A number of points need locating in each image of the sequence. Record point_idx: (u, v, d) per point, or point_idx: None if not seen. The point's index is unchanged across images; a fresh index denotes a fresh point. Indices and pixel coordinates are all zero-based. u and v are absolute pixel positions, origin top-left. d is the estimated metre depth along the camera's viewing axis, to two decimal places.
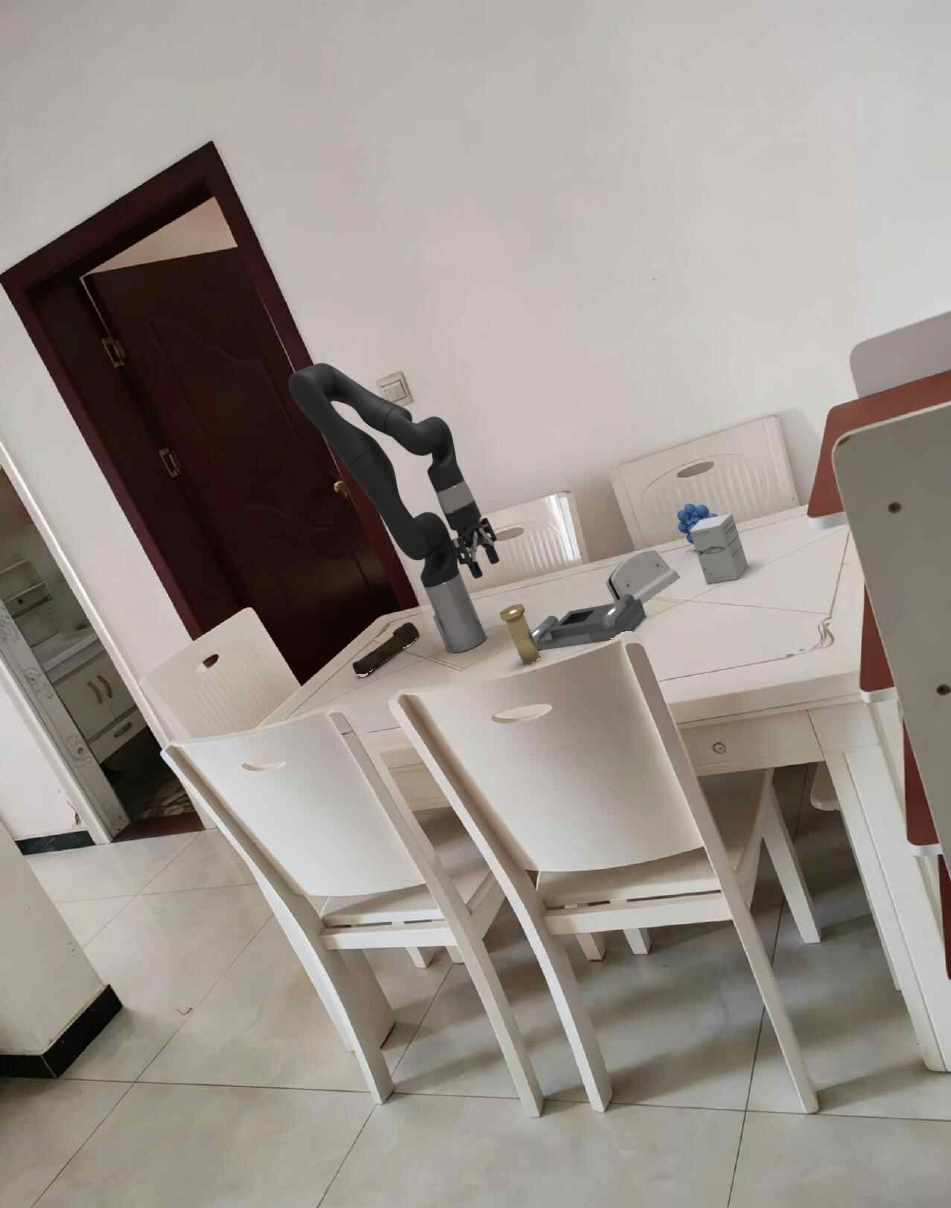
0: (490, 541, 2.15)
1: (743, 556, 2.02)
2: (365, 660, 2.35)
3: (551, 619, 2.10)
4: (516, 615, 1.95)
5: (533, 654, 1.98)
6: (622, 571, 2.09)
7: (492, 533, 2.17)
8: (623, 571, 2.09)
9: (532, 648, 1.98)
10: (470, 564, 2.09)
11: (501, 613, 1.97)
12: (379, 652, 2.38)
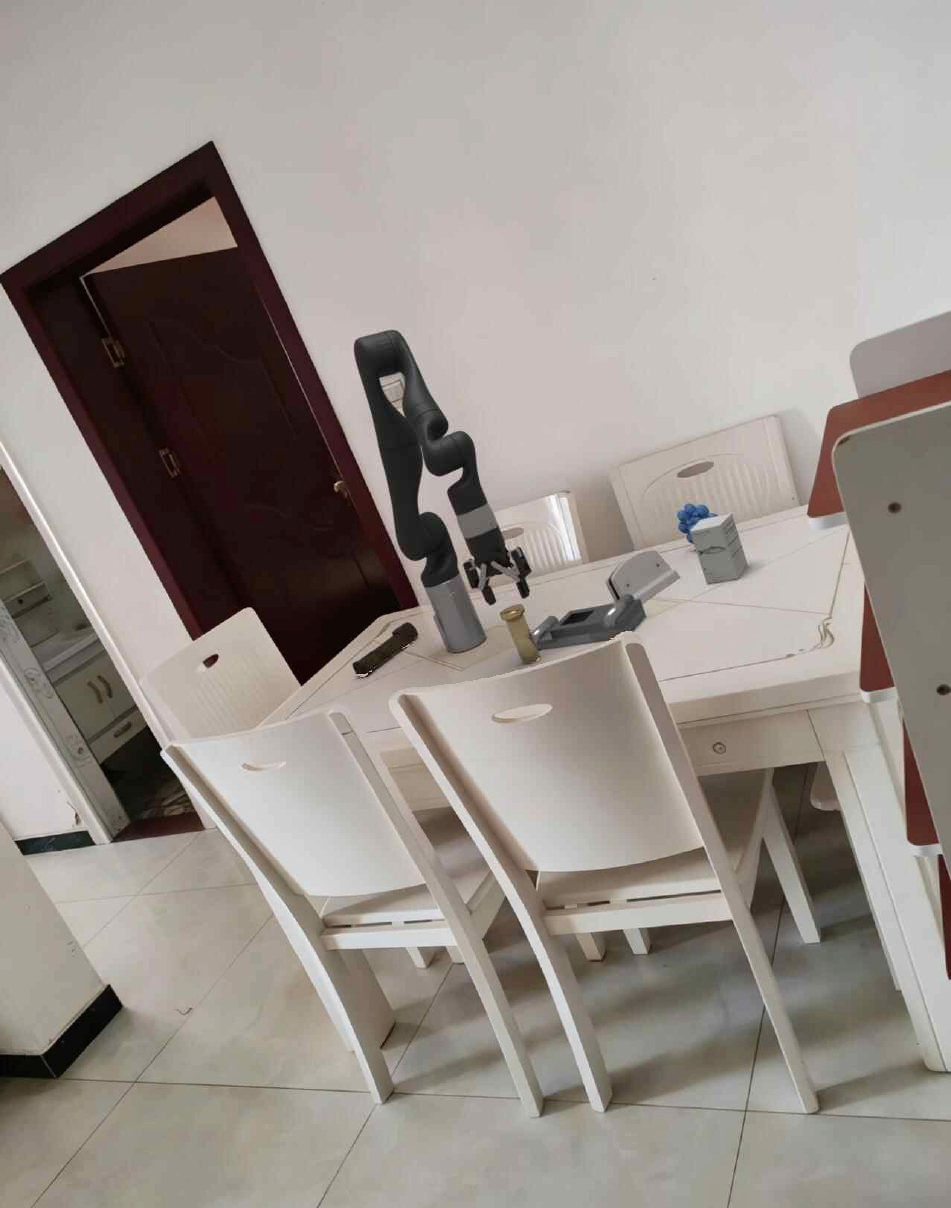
0: None
1: (743, 556, 2.02)
2: (365, 660, 2.35)
3: (551, 619, 2.10)
4: (516, 615, 1.95)
5: (533, 654, 1.98)
6: (622, 571, 2.09)
7: None
8: (623, 570, 2.09)
9: (532, 648, 1.98)
10: (524, 579, 1.92)
11: (501, 613, 1.97)
12: (379, 652, 2.38)
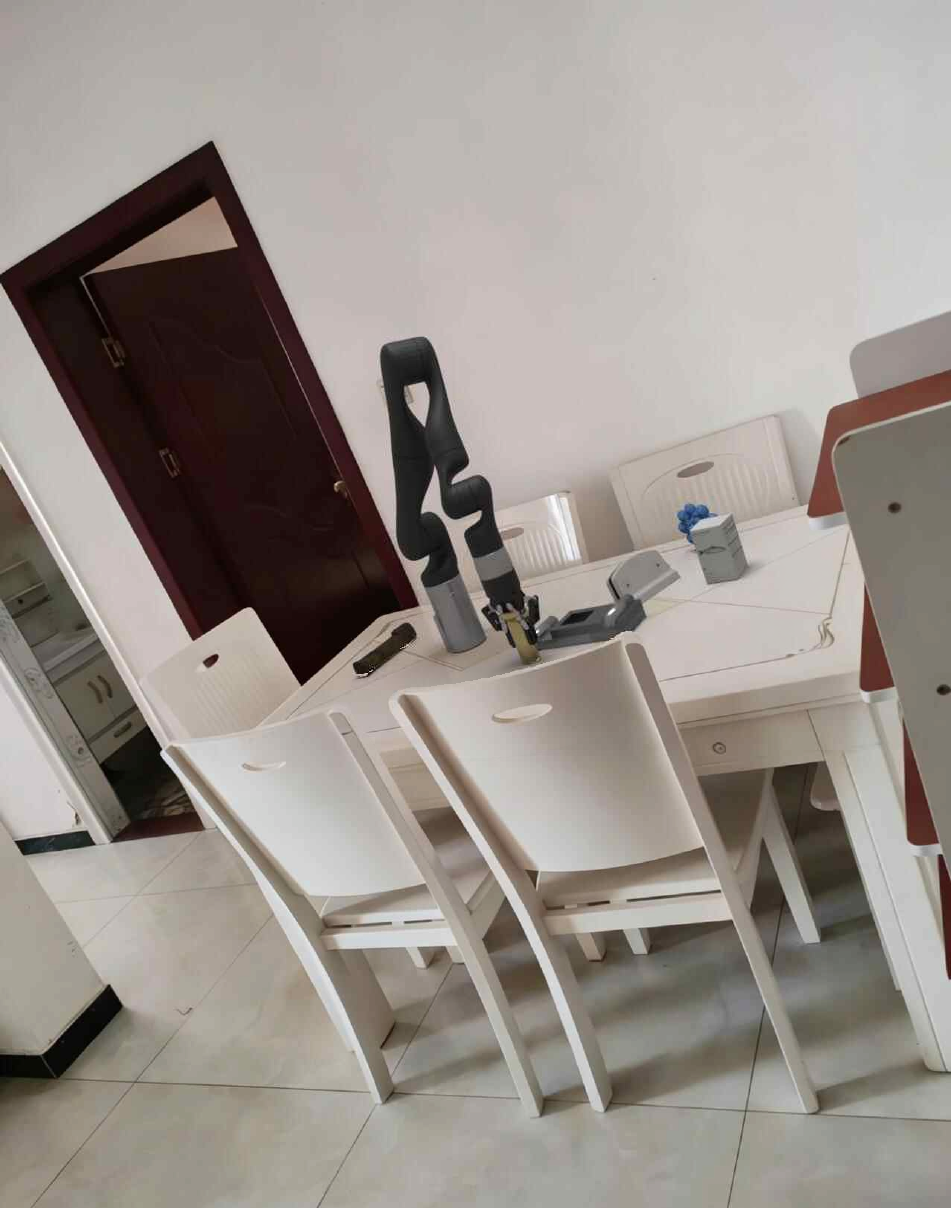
0: None
1: (743, 556, 2.02)
2: (365, 660, 2.35)
3: (551, 619, 2.10)
4: (516, 615, 1.95)
5: (533, 654, 1.98)
6: (622, 571, 2.09)
7: None
8: (624, 570, 2.09)
9: (532, 648, 1.98)
10: (532, 627, 1.96)
11: None
12: (379, 652, 2.38)
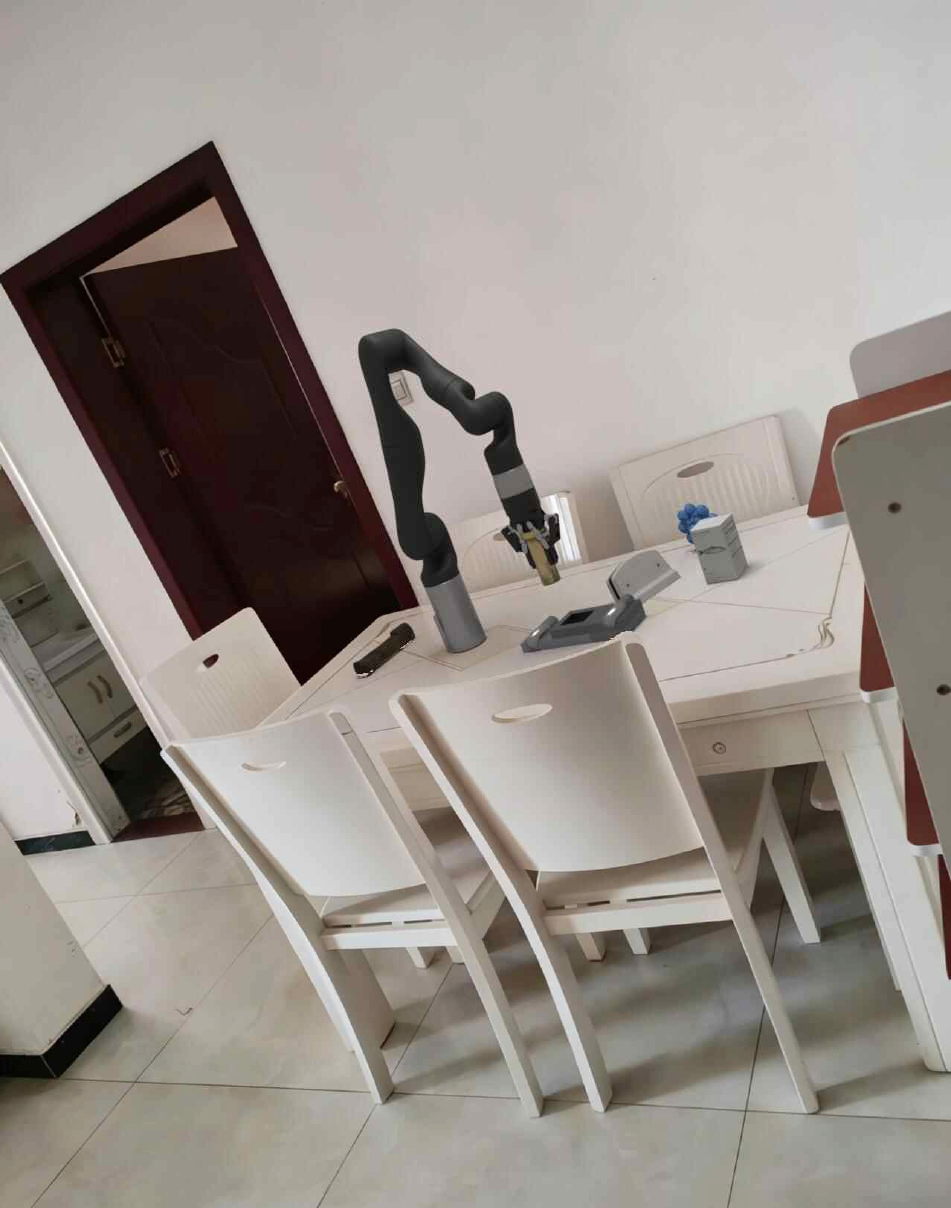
0: None
1: (743, 556, 2.02)
2: (366, 659, 2.35)
3: (551, 619, 2.10)
4: (536, 534, 1.93)
5: (553, 574, 1.96)
6: (622, 571, 2.09)
7: None
8: (624, 570, 2.09)
9: (552, 568, 1.96)
10: (553, 546, 1.94)
11: None
12: (379, 652, 2.38)
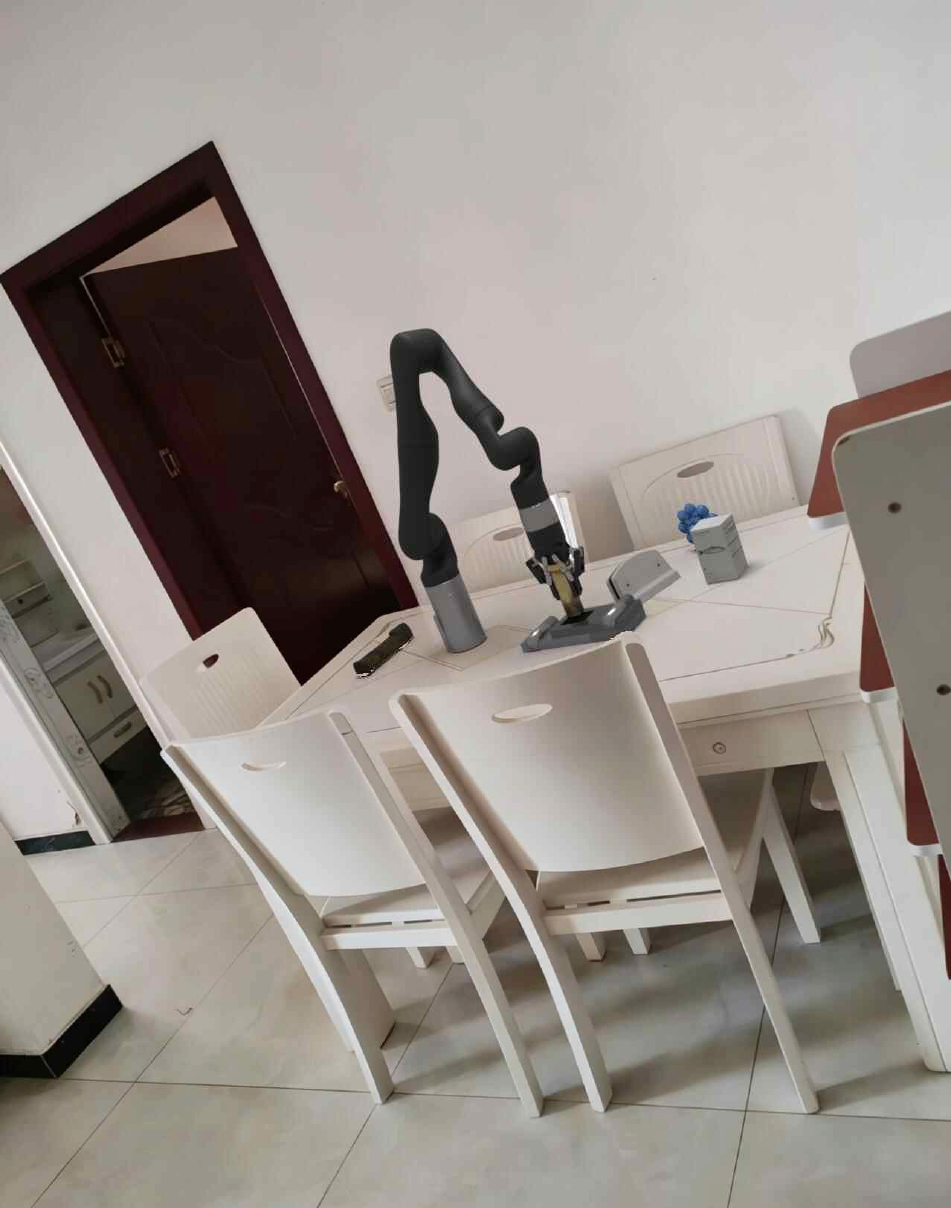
0: None
1: (743, 556, 2.02)
2: (366, 659, 2.35)
3: (551, 619, 2.10)
4: (561, 567, 1.96)
5: (577, 606, 1.99)
6: (622, 571, 2.09)
7: None
8: (624, 570, 2.09)
9: (576, 600, 1.99)
10: (577, 578, 1.98)
11: None
12: (379, 652, 2.38)
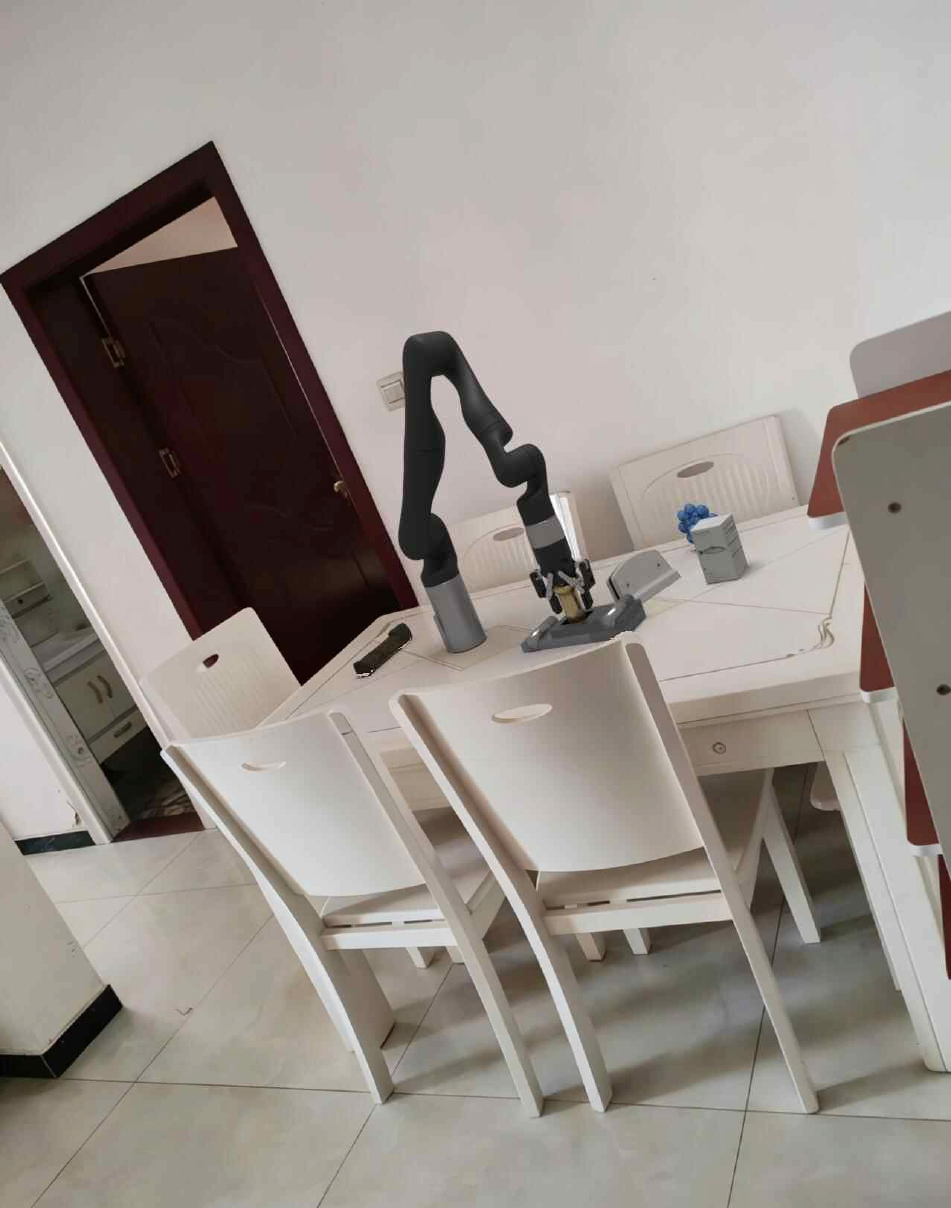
0: None
1: (743, 556, 2.02)
2: (366, 659, 2.35)
3: (551, 619, 2.10)
4: (569, 589, 1.97)
5: None
6: (622, 571, 2.09)
7: None
8: (624, 570, 2.09)
9: None
10: (588, 591, 1.97)
11: (554, 588, 2.00)
12: (379, 652, 2.38)
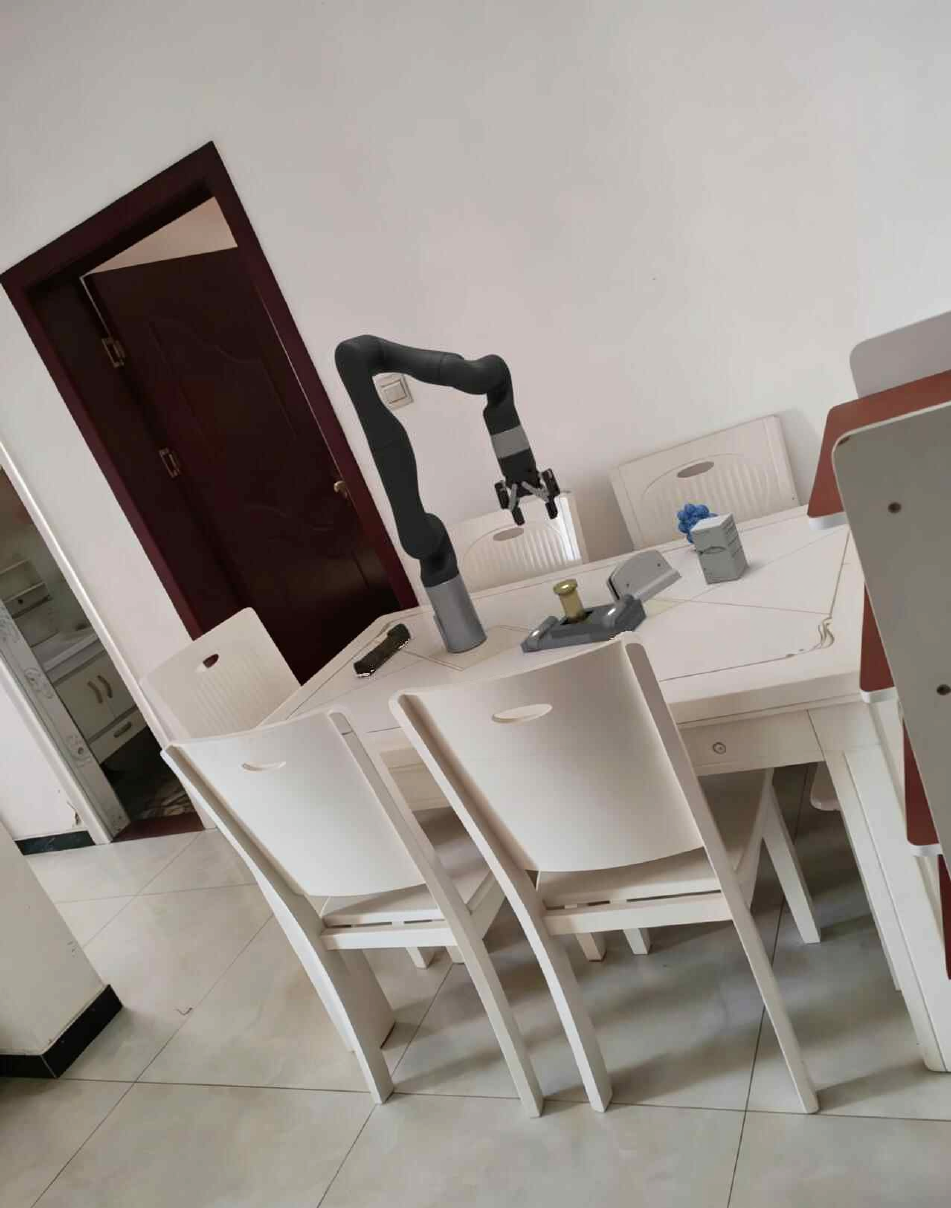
0: None
1: (743, 556, 2.02)
2: (367, 659, 2.35)
3: (551, 619, 2.10)
4: (569, 589, 1.97)
5: None
6: (622, 570, 2.09)
7: None
8: (624, 570, 2.09)
9: None
10: (553, 500, 1.99)
11: (554, 587, 2.00)
12: (379, 652, 2.39)
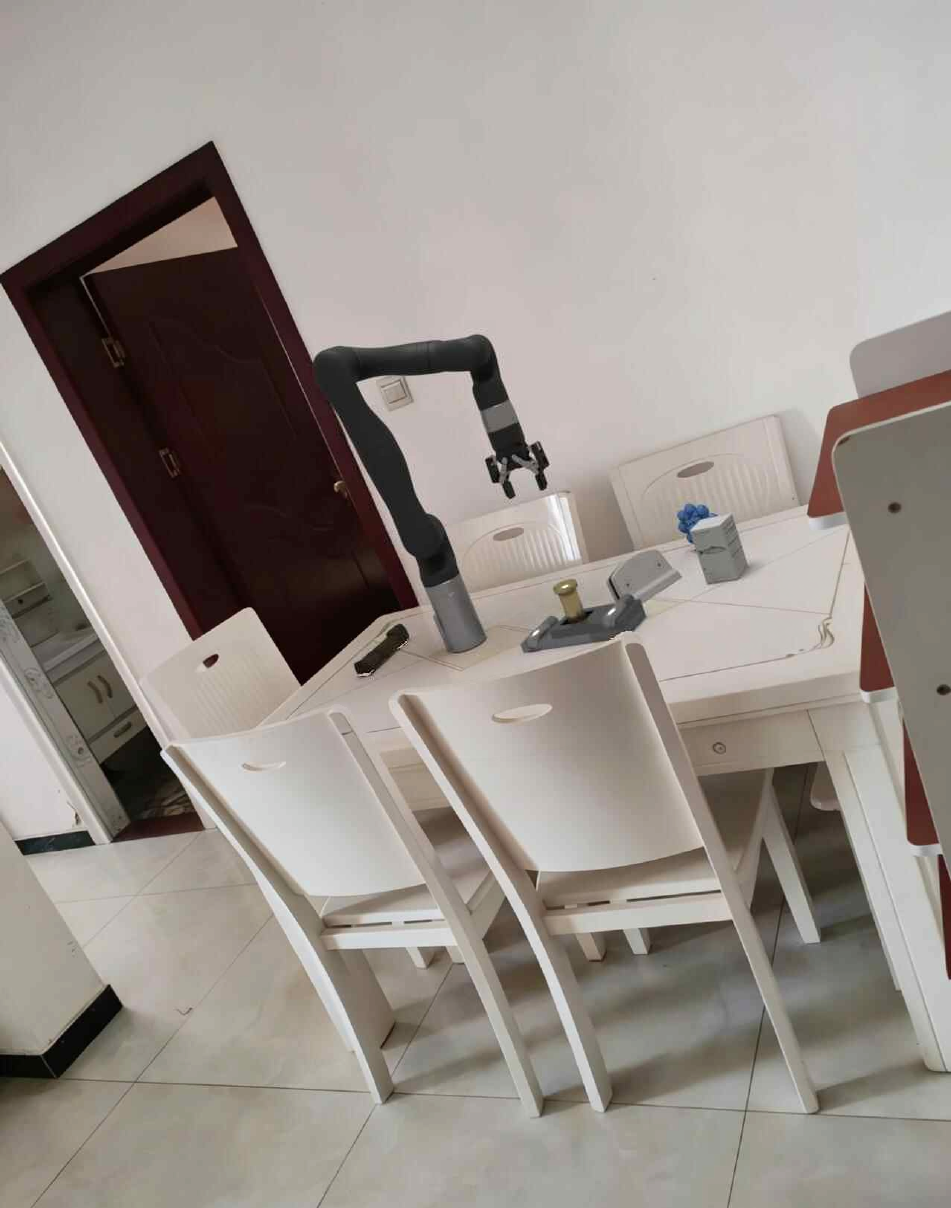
0: None
1: (743, 556, 2.02)
2: (367, 659, 2.35)
3: (551, 619, 2.10)
4: (569, 589, 1.97)
5: None
6: (622, 570, 2.09)
7: None
8: (624, 570, 2.09)
9: None
10: (542, 472, 2.06)
11: (554, 587, 2.00)
12: (379, 651, 2.39)
